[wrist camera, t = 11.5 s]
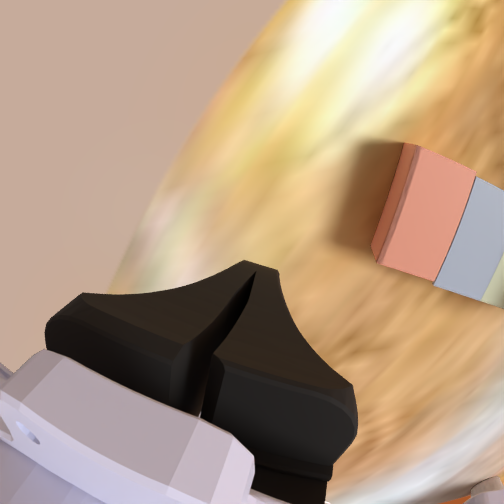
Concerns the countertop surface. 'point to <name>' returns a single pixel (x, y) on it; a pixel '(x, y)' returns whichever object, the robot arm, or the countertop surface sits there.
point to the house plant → (487, 486)
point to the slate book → (475, 243)
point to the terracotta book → (421, 212)
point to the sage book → (496, 287)
